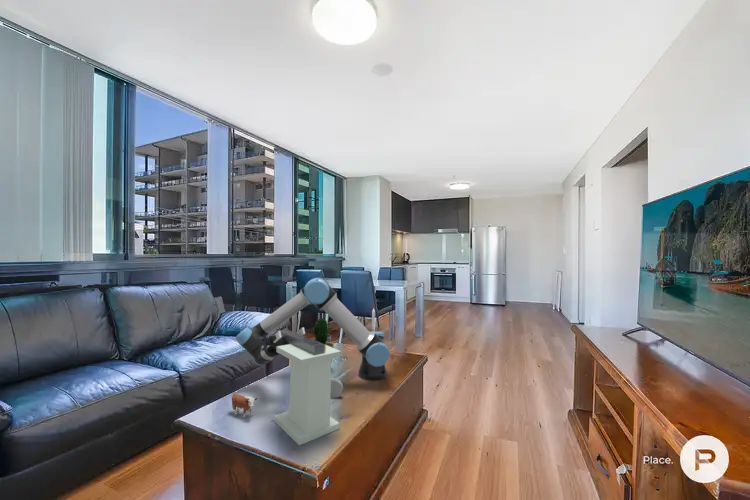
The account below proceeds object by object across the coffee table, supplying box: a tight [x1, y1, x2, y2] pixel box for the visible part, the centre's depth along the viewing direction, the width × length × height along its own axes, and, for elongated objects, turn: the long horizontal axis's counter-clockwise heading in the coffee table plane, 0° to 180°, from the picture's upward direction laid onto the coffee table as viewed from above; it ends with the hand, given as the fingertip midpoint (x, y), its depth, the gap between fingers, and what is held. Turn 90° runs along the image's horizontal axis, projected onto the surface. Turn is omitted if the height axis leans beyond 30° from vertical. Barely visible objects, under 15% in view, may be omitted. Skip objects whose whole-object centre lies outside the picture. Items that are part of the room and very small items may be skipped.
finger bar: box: [279, 329, 326, 355], centre depth 120 cm, size 30×5×3 cm, turn 42°
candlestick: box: [371, 304, 376, 331], centre depth 191 cm, size 11×11×35 cm
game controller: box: [330, 377, 344, 399], centre depth 138 cm, size 20×2×8 cm, turn 84°
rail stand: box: [273, 342, 342, 446], centre depth 114 cm, size 20×16×28 cm
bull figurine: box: [231, 393, 258, 419], centre depth 120 cm, size 4×13×8 cm, turn 58°
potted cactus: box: [313, 317, 335, 364], centre depth 167 cm, size 15×15×30 cm
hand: (292, 332), depth 125 cm, fingers open, 10 cm apart
